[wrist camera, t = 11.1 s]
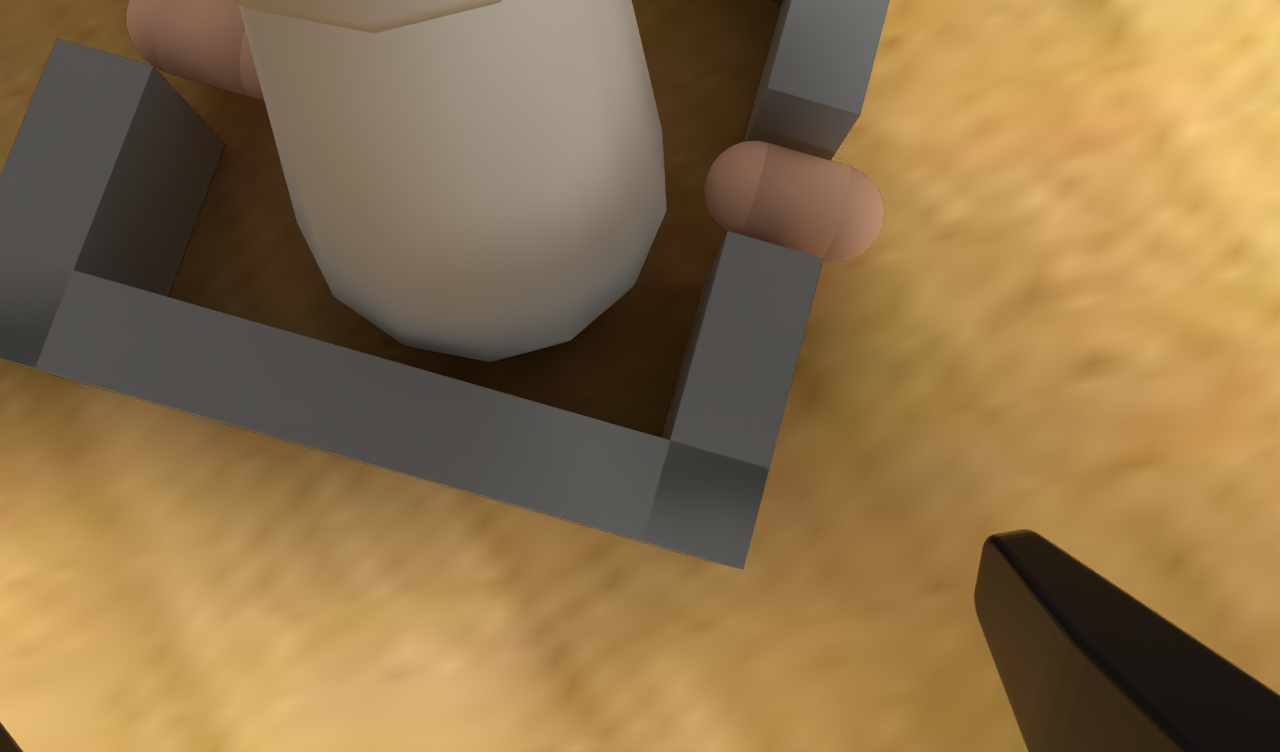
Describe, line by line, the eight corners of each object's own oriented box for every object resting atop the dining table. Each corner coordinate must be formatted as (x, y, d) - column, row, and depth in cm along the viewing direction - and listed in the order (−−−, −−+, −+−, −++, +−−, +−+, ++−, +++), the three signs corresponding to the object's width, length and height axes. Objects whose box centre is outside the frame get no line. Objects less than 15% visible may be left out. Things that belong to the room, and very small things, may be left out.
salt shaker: (266, 256, 18) (-590, -491, 5) (462, 16, 18) (185, -1152, 6) (532, 448, 17) (379, 201, 4) (718, 195, 18) (1031, -608, 5)
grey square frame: (716, 563, 17) (743, 570, 14) (46, 373, 17) (-67, 339, 14) (875, -46, 19) (928, -151, 16) (276, -220, 19) (220, -357, 16)
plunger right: (856, 284, 17) (883, 258, 15) (688, 236, 17) (699, 205, 15) (878, 199, 17) (907, 164, 16) (712, 151, 17) (725, 112, 16)
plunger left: (307, 126, 17) (279, 85, 15) (138, 78, 17) (92, 31, 15) (338, 43, 17) (312, -6, 16) (171, -5, 17) (129, -59, 16)
